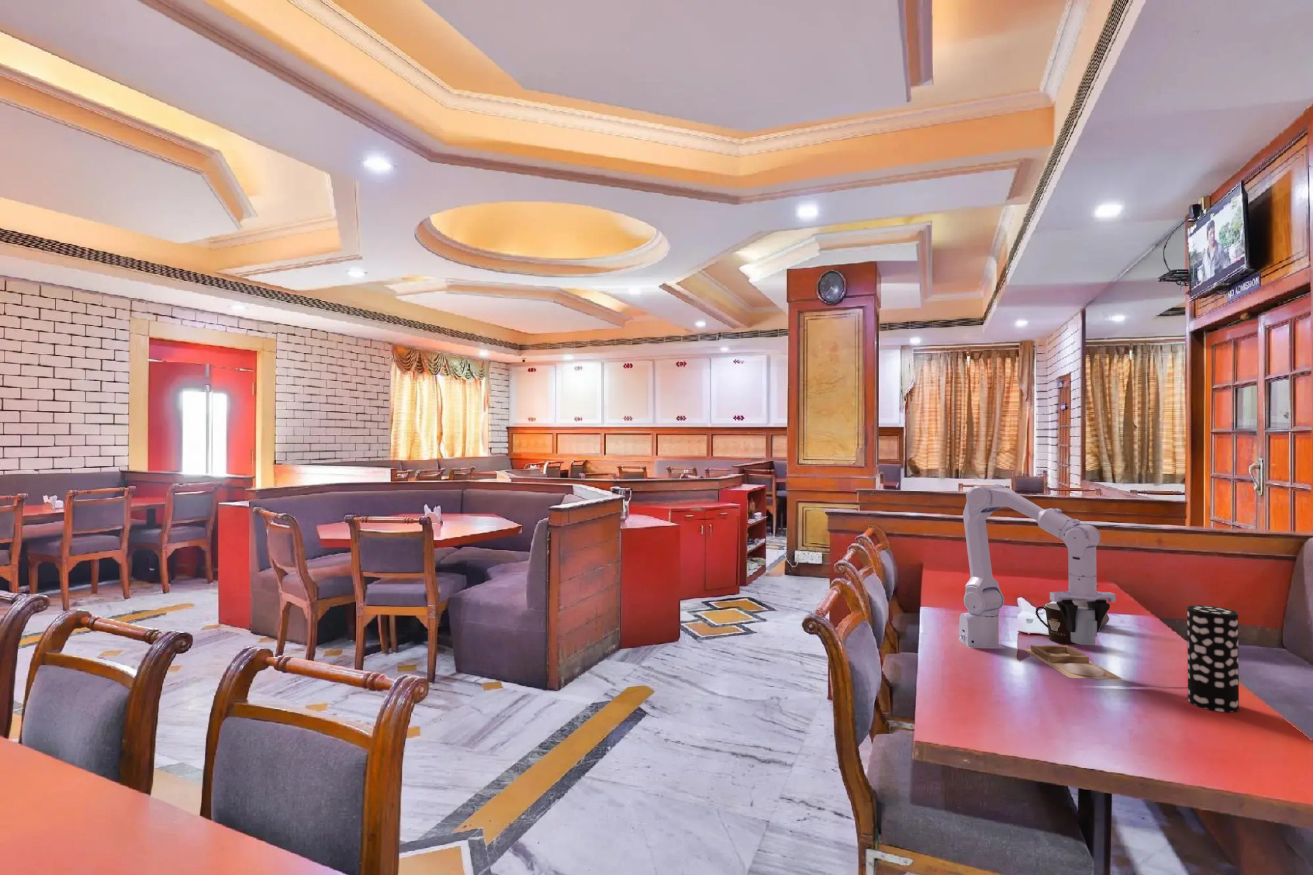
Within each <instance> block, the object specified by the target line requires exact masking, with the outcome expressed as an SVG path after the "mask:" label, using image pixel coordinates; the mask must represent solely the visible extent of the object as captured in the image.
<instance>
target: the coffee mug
mask: <svg viewBox="0 0 1313 875" xmlns="http://www.w3.org/2000/svg"><path fill="white" fill-rule="evenodd" d="M1040 609H1041V610H1042V609H1043V610H1044V611H1045V618H1046V622H1045V621H1044V620H1043V619H1042V618H1041V616H1040V614H1039V610H1040ZM1035 615H1036V617H1037V619H1038V620H1039V621H1040V622H1041V623H1042V624H1043V626H1045V627H1046V628H1047V632H1048V639H1049V641H1050V642H1053V643H1056V644H1059V645H1067V646H1068V645H1071V646H1072V645H1076V643H1073V642H1071V632H1070V631H1068V630H1067V627H1066V623H1065V620H1064V617H1063V614H1062V612H1061V610H1060V608H1059V607H1058V605H1057V603H1056V602H1052V603H1050V602H1049V603H1045V604H1044V606H1043V605H1042V606H1037V607H1036V608H1035Z"/></svg>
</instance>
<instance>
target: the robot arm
mask: <svg viewBox="0 0 1313 875" xmlns="http://www.w3.org/2000/svg"><path fill="white" fill-rule="evenodd" d="M965 497H966V503H965V506H964V510H963V511H962V512H963V513H962V516H963V517H962V519H963V524H964V534H965V539H966V540H965V541H966V549H967V557H968V566H969V575H970V578H969V580H968V581H967V582H966V584H965V586H964V589H965V593H964V596H963V602H964V603H963V604H964V607H965V608H966V609H967V612H962V613H960V615H959V620H958V628H959V629H958V632H959V633H958V636H959V637H958V641H959V642H960V643H962V644H963V645H965V646H966V647H968V648H969V649H1006V647H1004V646H1003V645H1001V644H1000V638H999V637H1000V635H999V634H1000V632H999V631H1000V628H999V627H1000V626H999V625H1000V624H999V620H1000V617H999V614H1000V609H1001V608H1003V606H1004V604H1005V597H1004V596H1005V595H1004V594H1003V593H1002V591H1001V589H1000V583H999V582H998V581H997V580H996V579H995V578H994V576H993V569H992V562H991V553H990V552H991V551H990V545H989V536H988V530H987V521H986V520H987V519H988V518H989V517H990V516H991V515H992V514H993V513H994V512H995V511H997V510H999V509H1002V508H1006V507H1007V508H1010V509H1012V510H1014V511H1016V512H1018V513H1019V514H1022V515H1024V516H1027V517H1028V518H1030V519H1033V520H1035V521H1036V522H1037V526H1038V528H1040V529H1041V530H1043V531H1045V532H1047V533H1049V534H1051V535H1053V536H1054V537H1056V538H1058V539H1059V540H1061V541H1063V543H1064V545H1065V546H1066V547H1067V553H1068V555H1067V556H1068V557H1067V558H1068V559H1067V560H1068V561H1067V562H1068V564H1067V565H1068V574H1067V575H1068V579H1067V580H1068V590H1065V591H1064V590H1063V591H1051V592H1050V591H1049V601H1052V602H1053V603H1057V605H1058V607H1059V608H1060V610H1061V612H1062V614H1063V617H1064V620H1065V623H1066V627H1067V630H1068V631H1070V632H1075V629H1076V613H1077V609H1078V606H1077V605H1075V604H1074V603H1073V601H1087V604H1088V608H1091V609H1094V610H1095V621H1097V634H1098V633H1099V632H1100V629H1101V628H1100V625H1101V622H1102V620H1103V618H1104V616H1105V614H1106V612H1107V613H1108V611H1109V610H1110V608H1111V604H1110V603H1116V602H1117V599H1116V593H1114V592H1110V591H1109V592H1107V591H1104V592H1103V591H1097V589H1098V586H1097V584H1098V582H1097V546H1098V545H1099V544H1100V542H1101V540H1102V536H1101V532H1100V531H1099V529H1098V528H1096V527H1095V526H1094V525H1093V524H1091V523H1081V519H1080V520H1079V519H1078V518H1072V517H1070V516H1068V515H1066V514H1064V513H1062V512H1063V510H1062V509H1060V508H1051V507H1050V508H1042V507H1041V506H1039V505H1037V504H1035V502H1032V501H1030V500H1029V499H1027V498H1025V497H1024V496H1022V495H1021V494H1019V493H1018V492H1015V491H1014V490H1013V489H1011V488H1009V487H1005V485H1002V484H998V483H997V484H993V485H990V484H989V485H980V484H979V485H975V486H973V487H972V488H971V489H970V490H968V492H967V493H966V494H965ZM1107 602H1108V603H1107ZM1109 602H1110V603H1109Z"/></svg>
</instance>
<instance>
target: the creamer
mask: <svg viewBox="0 0 1313 875" xmlns="http://www.w3.org/2000/svg"><path fill="white" fill-rule="evenodd" d="M1097 637H1098V633H1097V621H1095V610H1094V609H1091V608H1087V607H1078V609H1077V613H1076V629H1075V632H1071V642H1073V643H1076V644H1077V645H1081V646H1095V645H1096V638H1097ZM1076 644H1075V645H1076Z"/></svg>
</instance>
